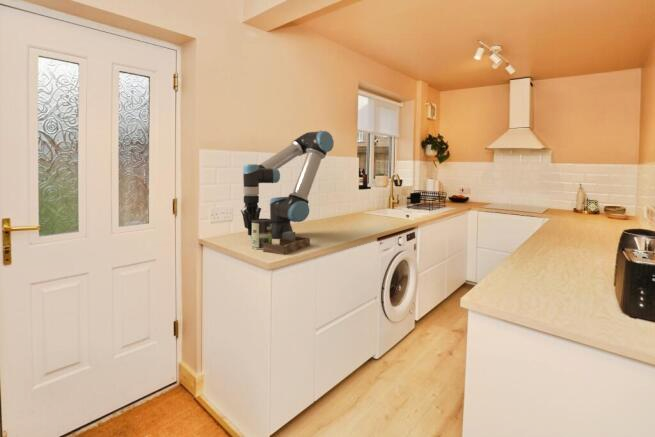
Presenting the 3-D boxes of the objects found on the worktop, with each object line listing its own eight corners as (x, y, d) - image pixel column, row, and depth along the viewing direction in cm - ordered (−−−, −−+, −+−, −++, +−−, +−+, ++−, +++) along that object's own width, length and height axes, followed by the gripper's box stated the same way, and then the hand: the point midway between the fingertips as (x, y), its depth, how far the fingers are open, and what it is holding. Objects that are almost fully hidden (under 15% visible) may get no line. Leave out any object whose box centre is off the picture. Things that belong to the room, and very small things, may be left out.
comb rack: (290, 243, 195) (290, 235, 195) (309, 245, 190) (309, 238, 189) (263, 251, 175) (263, 243, 174) (283, 254, 169) (283, 246, 169)
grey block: (288, 244, 193) (288, 231, 192) (295, 245, 191) (295, 231, 190) (282, 246, 187) (282, 232, 186) (288, 247, 185) (288, 233, 185)
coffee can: (274, 245, 188) (274, 218, 186) (268, 250, 178) (268, 221, 176) (255, 244, 190) (255, 217, 188) (248, 249, 180) (248, 220, 178)
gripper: (254, 194, 191) (254, 238, 194) (236, 195, 179) (237, 242, 183) (265, 194, 187) (265, 239, 190) (248, 196, 176) (248, 244, 179)
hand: (251, 241), depth 186 cm, fingers closed
